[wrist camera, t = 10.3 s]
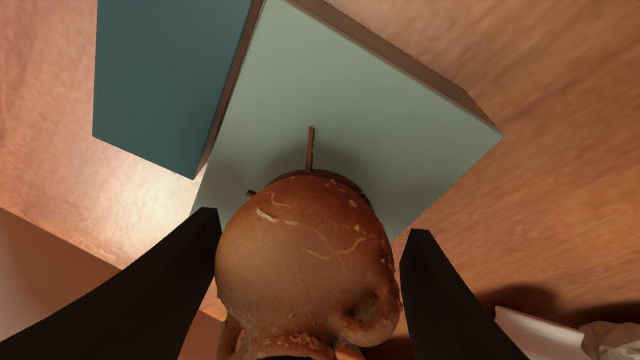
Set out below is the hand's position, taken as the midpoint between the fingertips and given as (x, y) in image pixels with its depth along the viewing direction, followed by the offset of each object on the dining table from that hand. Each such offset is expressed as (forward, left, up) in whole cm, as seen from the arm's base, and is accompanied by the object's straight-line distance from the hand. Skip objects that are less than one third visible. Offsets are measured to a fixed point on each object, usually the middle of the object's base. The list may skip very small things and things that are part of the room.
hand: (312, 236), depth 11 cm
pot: (0, 0, -3) cm, 3 cm away
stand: (+3, 0, -8) cm, 9 cm away
